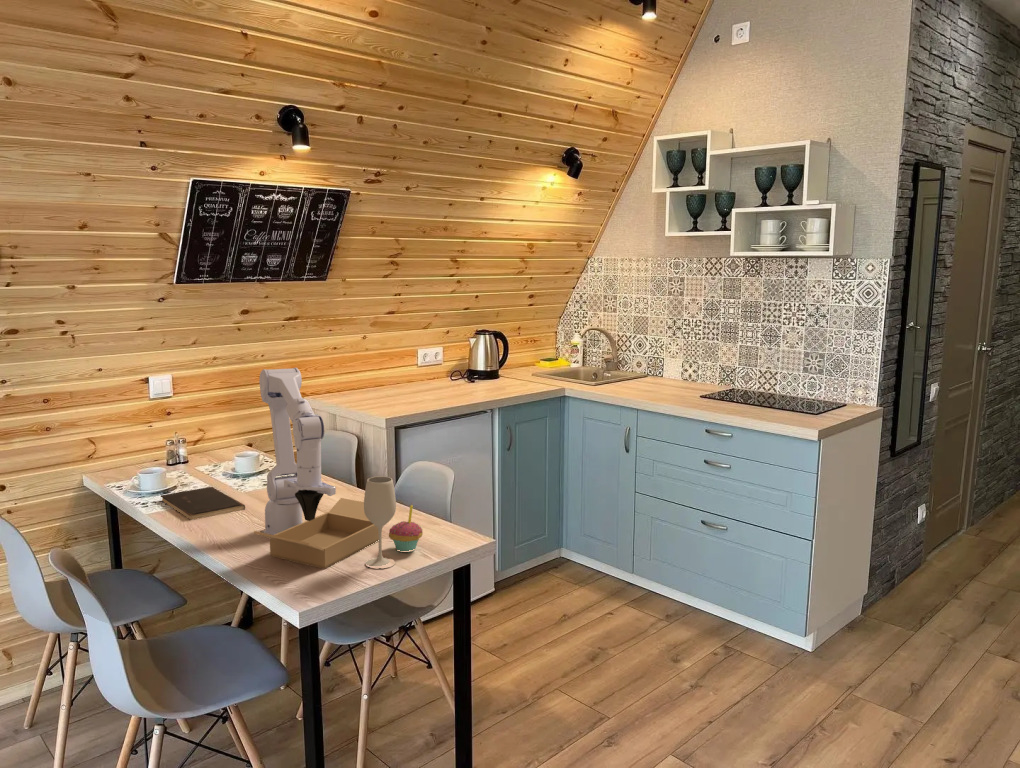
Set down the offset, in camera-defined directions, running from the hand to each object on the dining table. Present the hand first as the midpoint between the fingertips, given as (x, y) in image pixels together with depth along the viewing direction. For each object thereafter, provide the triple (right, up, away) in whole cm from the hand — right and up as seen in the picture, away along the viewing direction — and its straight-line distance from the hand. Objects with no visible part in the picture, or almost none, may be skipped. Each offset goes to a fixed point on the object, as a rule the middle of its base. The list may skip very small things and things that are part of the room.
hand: (309, 519), depth 191 cm
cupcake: (+23, -9, +7) cm, 25 cm away
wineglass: (+18, -11, -3) cm, 21 cm away
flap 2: (+9, 0, +18) cm, 20 cm away
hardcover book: (-42, -3, +39) cm, 57 cm away
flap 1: (-3, -4, -6) cm, 8 cm away
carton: (+3, -9, +7) cm, 11 cm away
